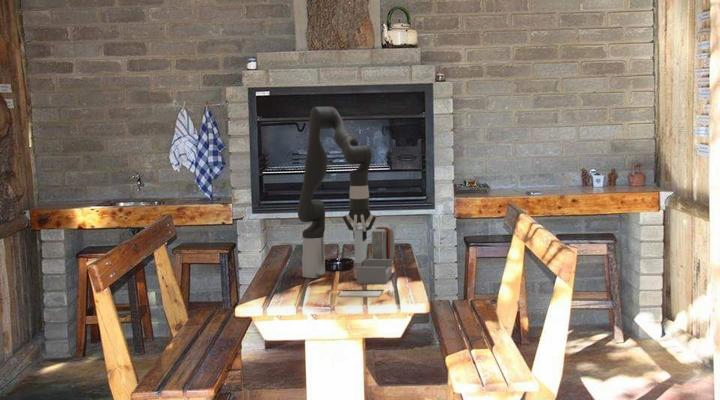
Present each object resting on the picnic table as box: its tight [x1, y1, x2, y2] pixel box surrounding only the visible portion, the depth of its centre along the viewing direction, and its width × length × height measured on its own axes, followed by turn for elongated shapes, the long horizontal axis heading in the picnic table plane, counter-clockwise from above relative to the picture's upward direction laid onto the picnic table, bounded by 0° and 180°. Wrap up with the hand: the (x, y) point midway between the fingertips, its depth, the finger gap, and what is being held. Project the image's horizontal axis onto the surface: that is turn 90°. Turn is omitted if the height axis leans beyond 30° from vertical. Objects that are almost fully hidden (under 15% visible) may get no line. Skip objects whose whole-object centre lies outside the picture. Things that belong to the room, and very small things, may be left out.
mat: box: [338, 289, 385, 298], centre depth 354 cm, size 16×14×1 cm
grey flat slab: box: [353, 226, 367, 264], centre depth 352 cm, size 2×13×12 cm, turn 171°
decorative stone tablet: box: [371, 226, 396, 266], centre depth 402 cm, size 19×6×30 cm
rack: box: [355, 258, 393, 285], centre depth 374 cm, size 12×18×8 cm, turn 171°
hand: (360, 240), depth 352 cm, fingers closed on grey flat slab, 2 cm apart
